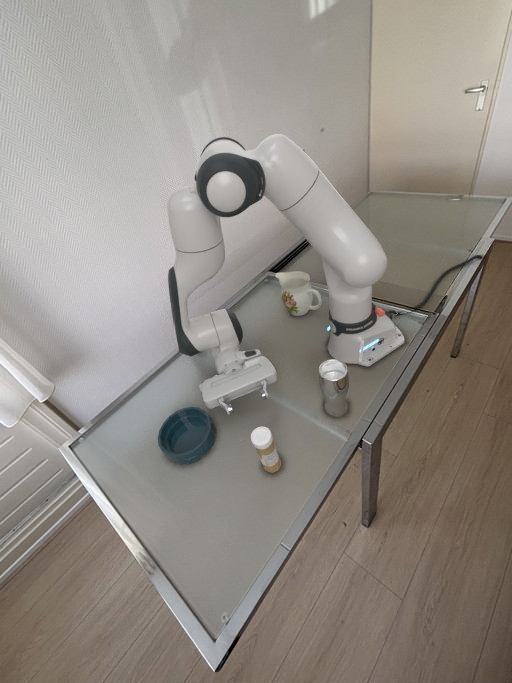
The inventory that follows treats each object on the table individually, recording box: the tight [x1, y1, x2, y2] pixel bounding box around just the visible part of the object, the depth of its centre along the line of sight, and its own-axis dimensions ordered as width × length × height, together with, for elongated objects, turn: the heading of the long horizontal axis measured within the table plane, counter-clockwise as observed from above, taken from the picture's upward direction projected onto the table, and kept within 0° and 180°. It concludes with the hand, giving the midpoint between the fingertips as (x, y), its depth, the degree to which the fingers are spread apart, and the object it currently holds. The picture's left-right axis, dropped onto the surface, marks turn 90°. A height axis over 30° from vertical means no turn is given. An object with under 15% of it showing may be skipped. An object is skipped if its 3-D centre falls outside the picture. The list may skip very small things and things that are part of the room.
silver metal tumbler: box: [318, 358, 350, 418], centre depth 79 cm, size 7×7×15 cm
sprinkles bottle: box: [250, 425, 282, 474], centre depth 72 cm, size 5×5×13 cm
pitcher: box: [274, 270, 323, 317], centre depth 112 cm, size 11×18×14 cm, turn 49°
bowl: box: [157, 406, 217, 466], centre depth 85 cm, size 14×14×5 cm
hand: (248, 404), depth 79 cm, fingers open, 8 cm apart
